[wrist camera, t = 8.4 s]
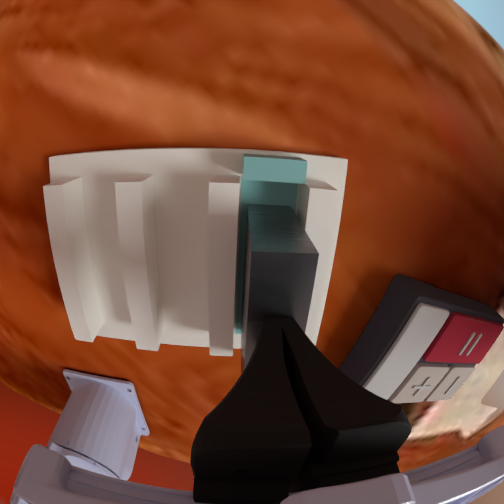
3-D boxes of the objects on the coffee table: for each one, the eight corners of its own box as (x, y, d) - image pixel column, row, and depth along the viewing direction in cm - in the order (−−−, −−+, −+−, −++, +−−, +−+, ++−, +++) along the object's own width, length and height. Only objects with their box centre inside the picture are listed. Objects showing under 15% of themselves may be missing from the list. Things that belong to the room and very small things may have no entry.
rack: (312, 340, 23) (321, 371, 20) (84, 325, 22) (67, 352, 19) (342, 157, 17) (364, 164, 14) (56, 155, 16) (26, 162, 13)
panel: (275, 330, 21) (288, 407, 14) (240, 329, 21) (241, 407, 14) (290, 206, 17) (319, 253, 11) (247, 203, 17) (251, 251, 11)
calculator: (450, 403, 24) (347, 409, 21) (434, 378, 28) (333, 374, 25) (510, 324, 20) (423, 301, 17) (487, 302, 24) (394, 271, 21)
